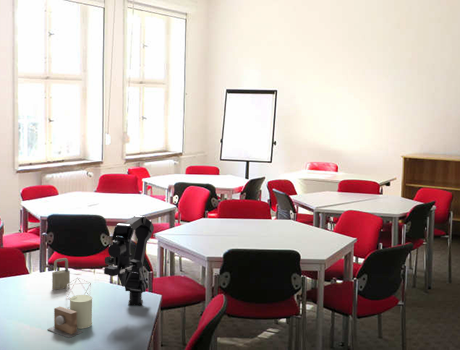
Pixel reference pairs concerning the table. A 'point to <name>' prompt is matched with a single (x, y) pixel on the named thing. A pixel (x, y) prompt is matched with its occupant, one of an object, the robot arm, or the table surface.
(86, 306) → the can
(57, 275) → the padlock
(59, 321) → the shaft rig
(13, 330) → the table surface
